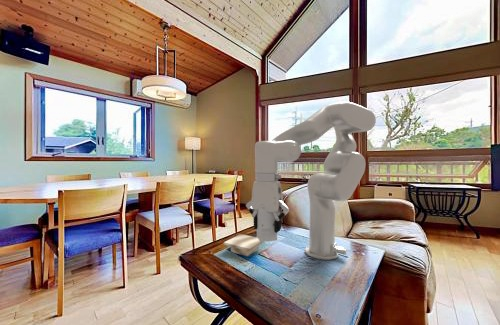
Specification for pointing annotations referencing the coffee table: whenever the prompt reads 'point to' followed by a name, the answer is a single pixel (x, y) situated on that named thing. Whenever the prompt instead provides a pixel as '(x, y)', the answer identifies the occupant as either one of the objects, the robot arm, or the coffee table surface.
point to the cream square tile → (243, 244)
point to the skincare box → (265, 225)
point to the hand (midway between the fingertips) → (267, 229)
